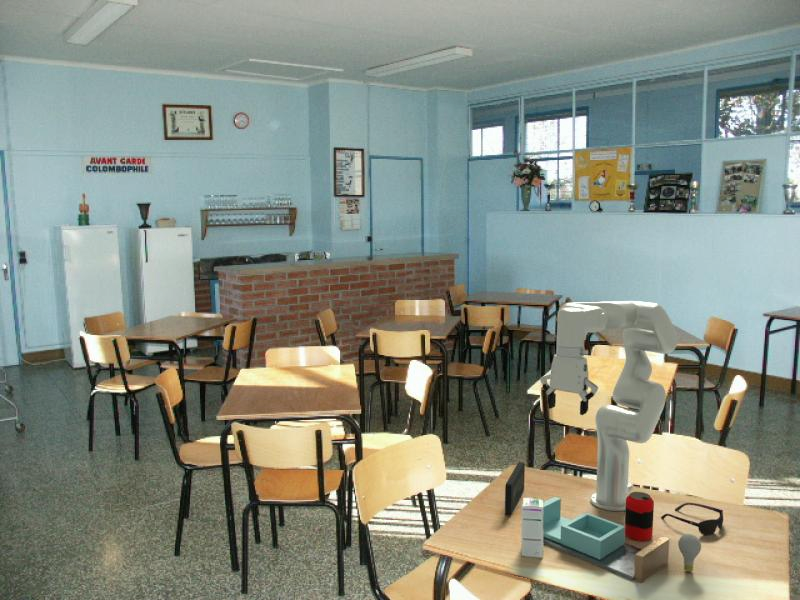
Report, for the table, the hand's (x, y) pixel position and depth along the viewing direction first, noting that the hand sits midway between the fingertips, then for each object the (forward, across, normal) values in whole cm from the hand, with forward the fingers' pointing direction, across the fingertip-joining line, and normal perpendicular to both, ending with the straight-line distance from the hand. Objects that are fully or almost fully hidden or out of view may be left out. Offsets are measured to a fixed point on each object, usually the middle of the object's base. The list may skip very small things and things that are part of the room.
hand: (567, 410), depth 205 cm
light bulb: (+36, -36, +1) cm, 51 cm away
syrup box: (+36, +1, +17) cm, 40 cm away
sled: (+35, -6, +4) cm, 35 cm away
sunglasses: (+36, -28, -28) cm, 54 cm away
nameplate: (+36, +20, -9) cm, 43 cm away
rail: (+36, -11, +4) cm, 38 cm away
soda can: (+36, -19, -11) cm, 42 cm away
